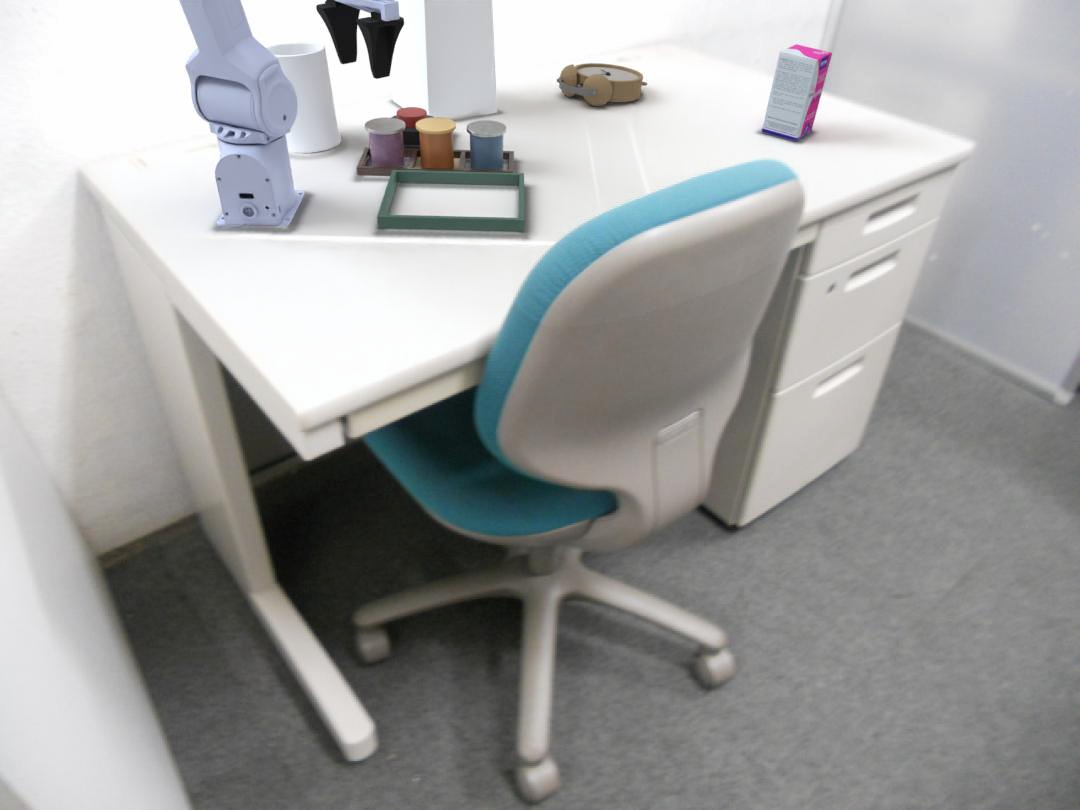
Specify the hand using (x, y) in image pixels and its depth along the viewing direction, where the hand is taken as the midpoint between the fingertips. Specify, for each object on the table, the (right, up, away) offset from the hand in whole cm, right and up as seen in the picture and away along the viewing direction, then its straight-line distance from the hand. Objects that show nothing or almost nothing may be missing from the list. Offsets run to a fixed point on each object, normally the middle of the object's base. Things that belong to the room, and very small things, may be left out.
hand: (364, 69), depth 106 cm
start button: (+5, -5, +5) cm, 9 cm away
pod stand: (+9, -13, 0) cm, 16 cm away
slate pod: (+16, -13, 0) cm, 20 cm away
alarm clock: (+32, +6, +26) cm, 42 cm away
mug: (-10, -7, +7) cm, 14 cm away
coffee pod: (+9, -12, 0) cm, 16 cm away
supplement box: (+59, -3, +16) cm, 61 cm away
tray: (+13, -20, -9) cm, 25 cm away
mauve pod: (+3, -12, 0) cm, 13 cm away
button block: (+5, -8, +7) cm, 11 cm away
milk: (+8, +2, +20) cm, 21 cm away
